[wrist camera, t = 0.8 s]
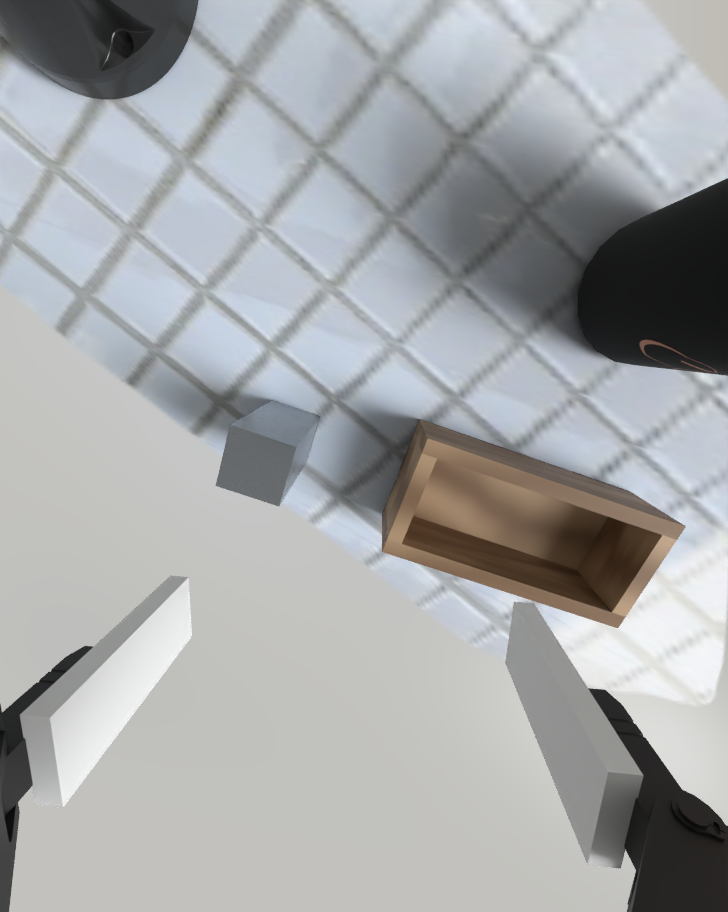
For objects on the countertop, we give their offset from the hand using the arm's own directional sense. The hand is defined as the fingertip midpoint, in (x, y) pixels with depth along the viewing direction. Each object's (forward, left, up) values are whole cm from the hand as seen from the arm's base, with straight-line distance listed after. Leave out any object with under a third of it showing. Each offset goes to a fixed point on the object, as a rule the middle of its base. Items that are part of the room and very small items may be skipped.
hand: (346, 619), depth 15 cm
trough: (0, +13, -21) cm, 25 cm away
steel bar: (0, -8, -21) cm, 22 cm away
